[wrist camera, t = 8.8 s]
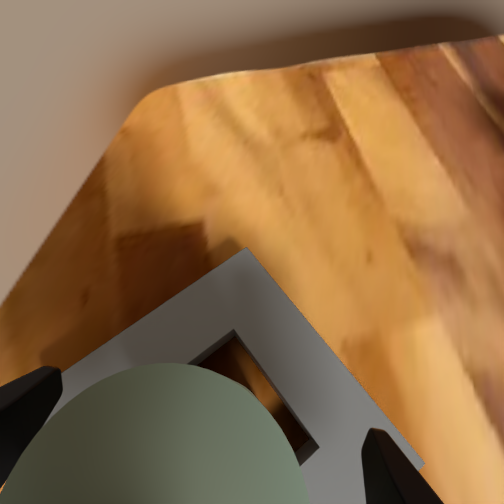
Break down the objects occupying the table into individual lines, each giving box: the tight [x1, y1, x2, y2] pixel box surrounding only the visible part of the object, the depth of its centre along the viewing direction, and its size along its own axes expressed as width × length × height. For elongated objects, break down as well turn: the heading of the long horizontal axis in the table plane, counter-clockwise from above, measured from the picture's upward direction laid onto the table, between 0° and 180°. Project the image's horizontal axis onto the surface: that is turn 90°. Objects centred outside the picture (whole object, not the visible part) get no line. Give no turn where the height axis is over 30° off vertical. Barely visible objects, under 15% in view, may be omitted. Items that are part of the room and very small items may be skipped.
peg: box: [0, 363, 310, 504], centre depth 10 cm, size 4×4×13 cm
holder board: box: [43, 247, 425, 504], centre depth 15 cm, size 13×13×2 cm
